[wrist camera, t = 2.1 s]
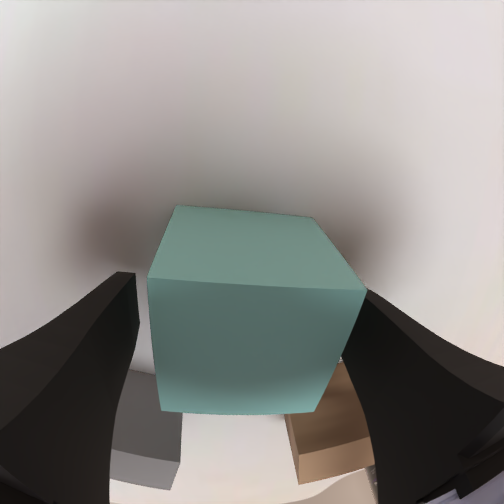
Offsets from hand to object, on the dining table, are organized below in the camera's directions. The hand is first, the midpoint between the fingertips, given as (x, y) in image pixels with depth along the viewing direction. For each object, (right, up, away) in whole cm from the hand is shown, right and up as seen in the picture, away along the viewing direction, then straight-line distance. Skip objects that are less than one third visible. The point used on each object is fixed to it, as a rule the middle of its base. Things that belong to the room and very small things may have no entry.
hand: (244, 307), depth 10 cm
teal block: (0, +1, +2) cm, 3 cm away
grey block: (-6, -7, +5) cm, 11 cm away
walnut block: (+5, -7, +7) cm, 10 cm away
